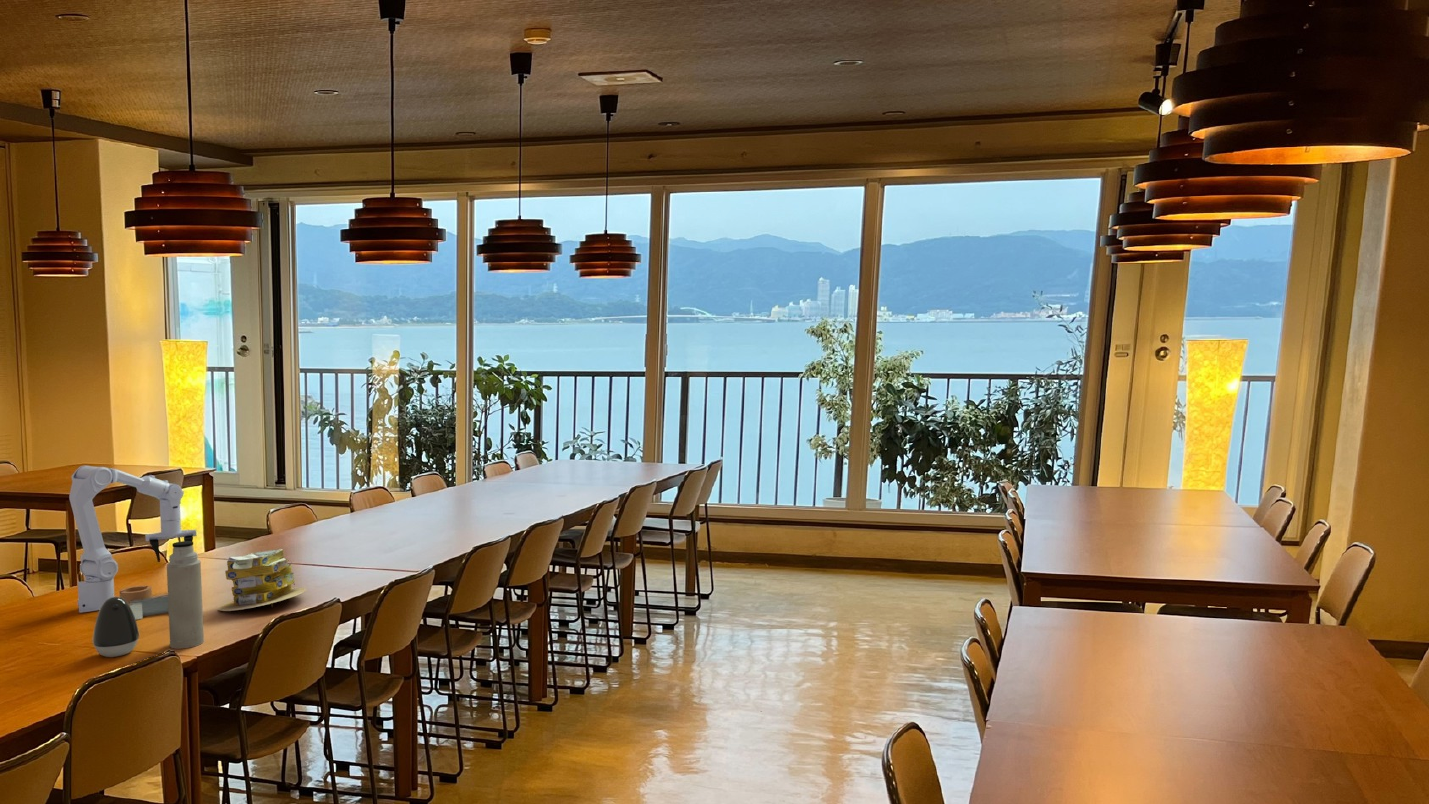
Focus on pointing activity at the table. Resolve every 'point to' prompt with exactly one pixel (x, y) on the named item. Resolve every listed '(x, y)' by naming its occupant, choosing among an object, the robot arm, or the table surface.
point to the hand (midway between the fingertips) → (172, 559)
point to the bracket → (137, 593)
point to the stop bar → (149, 606)
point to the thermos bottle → (184, 597)
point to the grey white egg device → (115, 628)
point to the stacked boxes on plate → (260, 580)
